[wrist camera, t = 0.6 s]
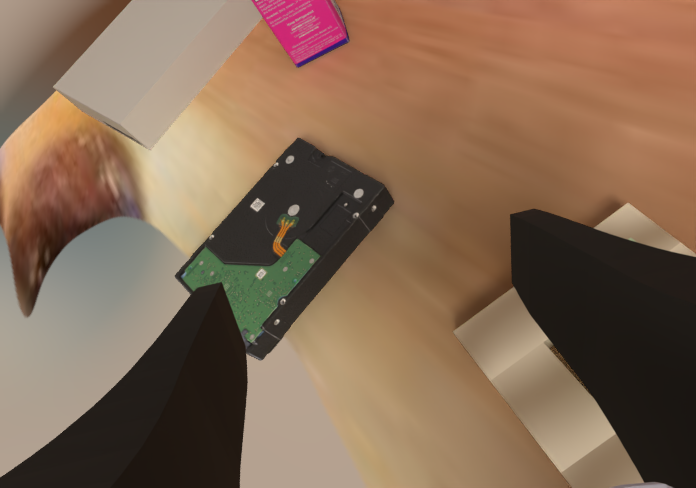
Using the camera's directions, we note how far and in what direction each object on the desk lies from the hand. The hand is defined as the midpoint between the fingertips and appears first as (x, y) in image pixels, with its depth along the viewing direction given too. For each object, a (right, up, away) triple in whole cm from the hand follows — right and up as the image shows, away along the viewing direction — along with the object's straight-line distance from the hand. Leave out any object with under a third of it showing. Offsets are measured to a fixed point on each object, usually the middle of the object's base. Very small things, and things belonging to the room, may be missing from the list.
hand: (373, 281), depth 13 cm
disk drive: (-5, 0, +27) cm, 27 cm away
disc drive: (-20, +23, +48) cm, 56 cm away
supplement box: (-3, +21, +37) cm, 43 cm away
